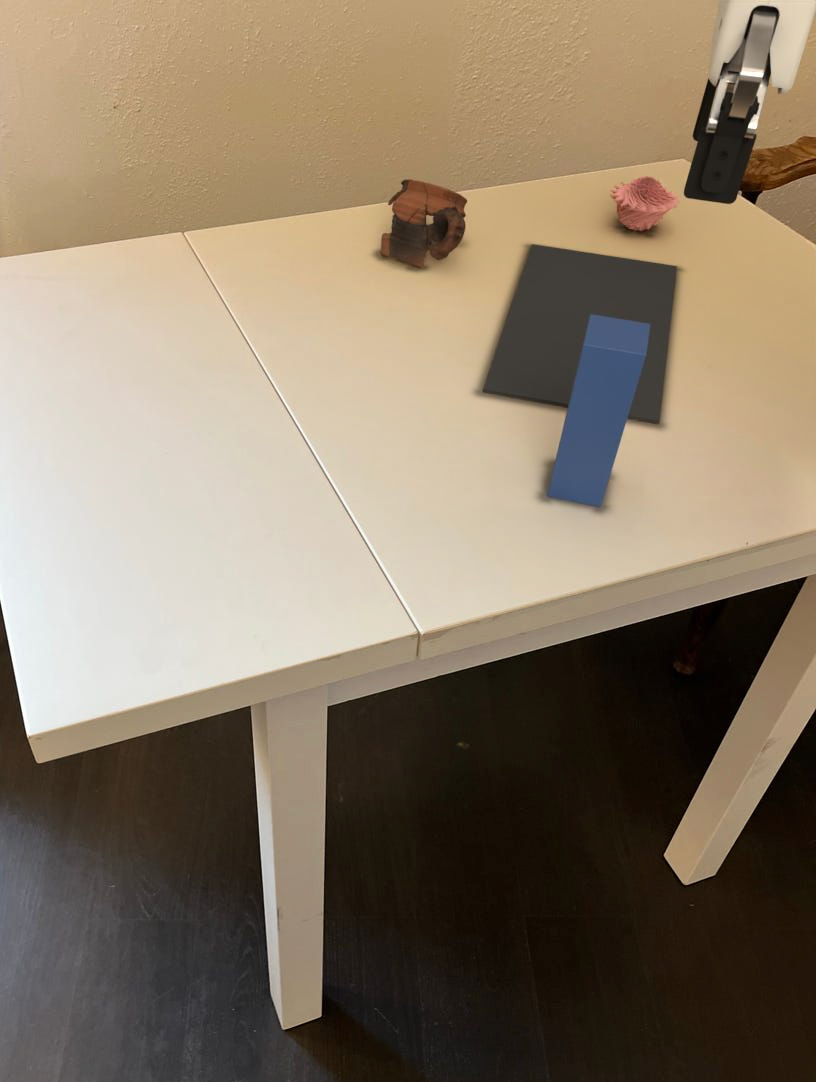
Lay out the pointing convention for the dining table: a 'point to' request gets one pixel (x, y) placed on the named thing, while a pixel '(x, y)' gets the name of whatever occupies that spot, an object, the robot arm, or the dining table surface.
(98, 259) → the dining table surface
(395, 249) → the brown broken pot
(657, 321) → the rubber mat
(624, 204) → the pink coral piece
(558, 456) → the blue post
